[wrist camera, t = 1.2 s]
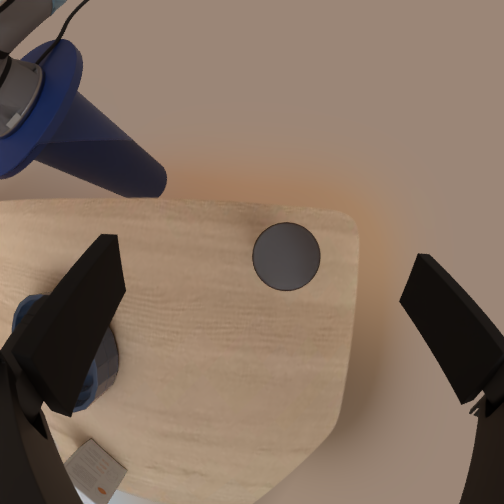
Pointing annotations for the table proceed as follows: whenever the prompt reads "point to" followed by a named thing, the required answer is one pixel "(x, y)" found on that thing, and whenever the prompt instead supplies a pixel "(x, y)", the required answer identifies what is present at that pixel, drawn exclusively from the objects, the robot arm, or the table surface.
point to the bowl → (101, 366)
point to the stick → (286, 256)
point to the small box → (94, 473)
